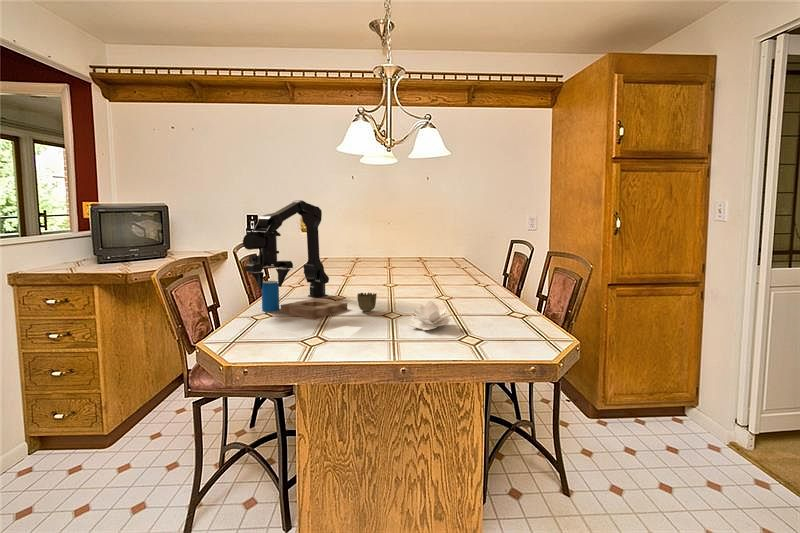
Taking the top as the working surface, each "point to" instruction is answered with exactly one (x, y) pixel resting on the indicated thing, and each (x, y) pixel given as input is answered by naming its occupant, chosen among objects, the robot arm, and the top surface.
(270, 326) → the top surface
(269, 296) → the beverage can
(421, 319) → the lotus flower
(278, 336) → the top surface
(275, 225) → the robot arm
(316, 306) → the can holder
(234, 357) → the top surface
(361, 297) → the cup
